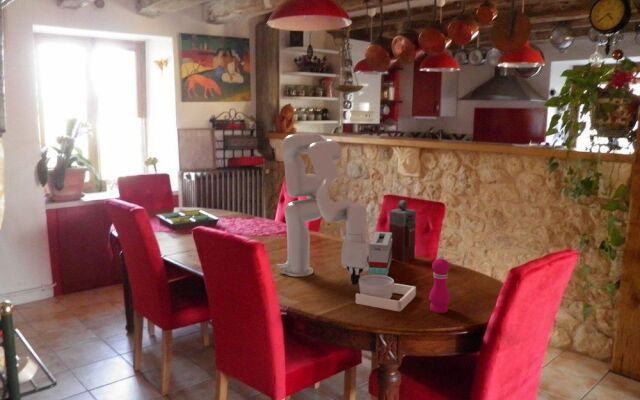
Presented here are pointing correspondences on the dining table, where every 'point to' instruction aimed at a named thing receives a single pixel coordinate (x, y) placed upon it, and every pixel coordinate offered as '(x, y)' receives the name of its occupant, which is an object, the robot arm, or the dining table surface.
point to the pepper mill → (440, 286)
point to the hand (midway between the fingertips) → (355, 283)
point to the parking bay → (389, 304)
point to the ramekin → (376, 286)
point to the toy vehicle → (380, 253)
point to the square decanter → (403, 232)
